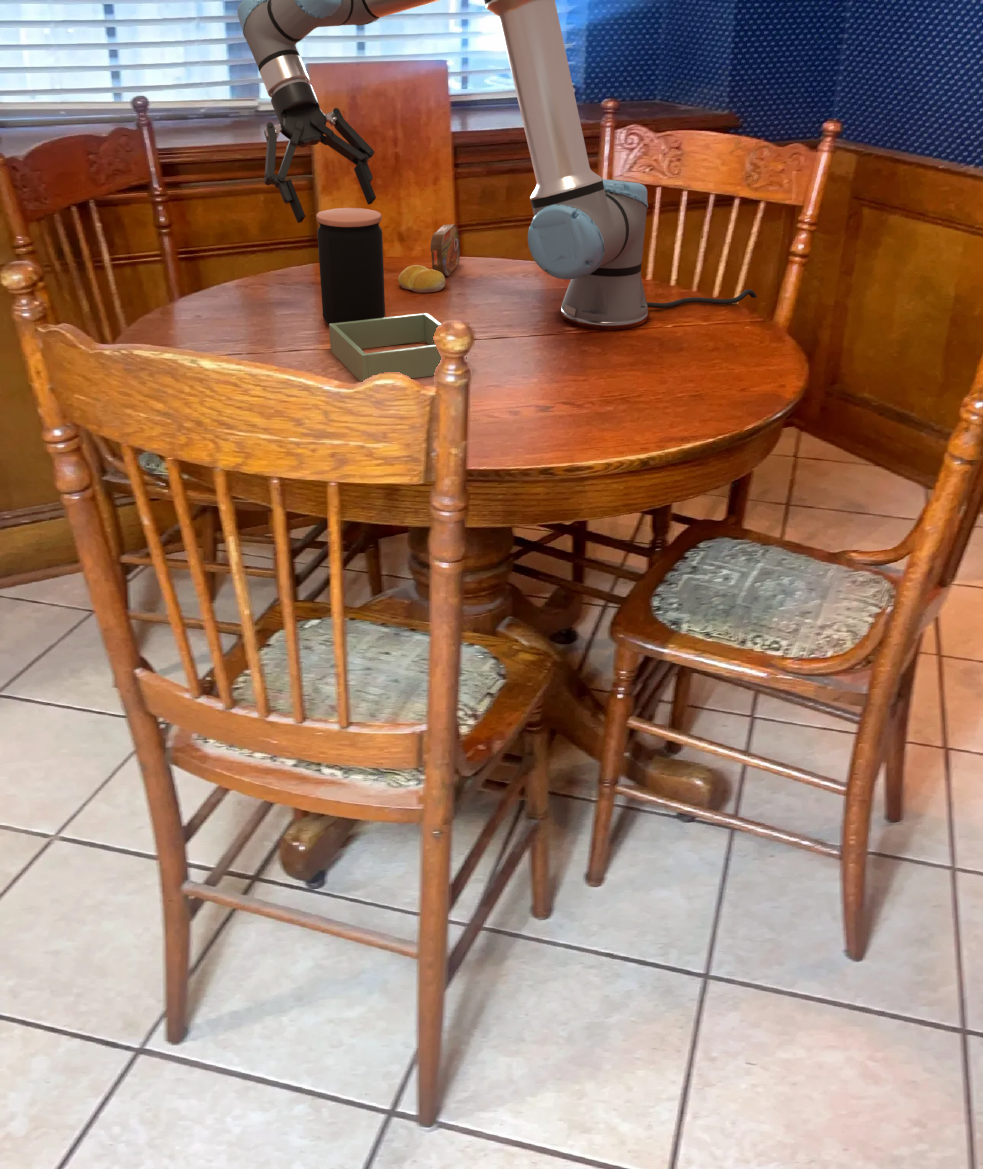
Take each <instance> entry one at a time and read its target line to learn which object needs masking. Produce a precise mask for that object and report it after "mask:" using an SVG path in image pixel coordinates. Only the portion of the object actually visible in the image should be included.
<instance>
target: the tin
mask: <svg viewBox="0 0 983 1169" xmlns="http://www.w3.org/2000/svg"><path fill="white" fill-rule="evenodd" d="M430 254H431V269H432V270H436V271H439V272H441V273H442V274H443V275H444V277H449V276H450V275H451V274H452V272H454V271H455V269H457V267H458V265H459V262H460V256H461V238H460V232H459V228H458V226H457V224H455V223H454V224H453V223H452V224H442V225H441V227H439V228H438V229H437V230H436V231H435V232H434V233H433V234H432V237H431V240H430Z"/></svg>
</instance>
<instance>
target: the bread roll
mask: <svg viewBox="0 0 983 1169" xmlns="http://www.w3.org/2000/svg"><path fill="white" fill-rule="evenodd" d="M398 283H399V285H400V287H401V288H402V289H405V290H407V291H412V292H414V293H419V294H426V293H436V292H440V291H441V290H443V289H444V288H445V286H446V276H444V275H443V274H442V273H441V272H439V271H436V270H433V269H432V268H427V267H426V266H424V265H420V264H412V265H409V266H407V267H405V268H404V269H403V270H402V271H401V272H400V274H399V275H398Z"/></svg>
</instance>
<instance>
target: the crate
mask: <svg viewBox="0 0 983 1169" xmlns="http://www.w3.org/2000/svg"><path fill="white" fill-rule="evenodd" d="M441 324H442V323H441V322H440V321H438V320H437V319H436V318H435V317H433V316H432V315H431V314H429V313H428V312H423V313H414V314H404V315H396V316H395V315H394V316H387V317H386V316H385V317H384V318H377V319H368V320H359V321H350V322H341V323H332V324H329V326H328V330H329V332H328V333H329V345H330V353H332V354H333V356H335V358H336V359H337V360H338V361H339V362H340V363H341V364H342V365H343V366H344V367H345V368H346V369H347V370H348V371H349V372H350V373H351V374H352V375H353V376H354V377H355V378H356V379H357V380H358V381H359V382H360V383H361V382H363V380H365V379H367V378H369V377H371V376H372V375H377V374H379V373H384V372H400V373H402V374H404V375H407V376H409V377H410V378H412V379H418V378H426V377H427V378H428V377H433V375H434V372H435V369H436V367H437V366H438V364H439V363H440V360H441V356H440V354H439V352H438V350H437V348H436V345H435V344H434V340H433V336H434V333H435V331H436V328H437V327H438V326H439V325H441ZM432 341H433V342H432ZM423 342H425V343H426V344H427V345H422V346H416V347H415V346H414V347H406V348H398V349H391V350H382V351H374V352H365V351H364V350H366V349H367V350H368V349H374V348H381V347H382V348H383V347H389V346H397V345H408V344H414V343H423ZM466 359H467V360H468V356H467V357H466ZM434 376H435V375H434Z"/></svg>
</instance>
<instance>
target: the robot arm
mask: <svg viewBox="0 0 983 1169" xmlns="http://www.w3.org/2000/svg"><path fill="white" fill-rule="evenodd" d="M440 1H441V0H242V1H241V2H240V3H239V5H238V7H237V18H238V20H239V23H240V26H241V30H242V35H243V37H244V39H245V40H246V43H247V45H248V48H249V50H250V52H251V55H252V56H253V60H254V61H255V64H256V66H257V69H258V72H259V75H260V78H261V80H262V82H263V85H264V87H265V89H266V93H267V95H268V96H269V98H271V99H270V103H271V106H272V109H273V110H274V113H275V116H276V118H277V120H278V122H279V123H278V124H274V123H273V122H271V121H269V122H267V123H266V125H265V127H264V130H263V134H264V137H265V140H266V150H265V163H264V165H265V166H264V167H265V168H264V180H263V182H264V184H265V185H266V186H271V185H272V186H274V187H275V188H276V189H278V191H279V193H280V196H281V198H282V201H283V203H284V204H285V205H288V204H289V205H290V207H291V210H292V212H293V215H294V217H295V219H296V222H297V224H300V223H302V222H304V220H305V218H306V214H305V211H304V209H303V207H302V204H301V202H300V198H299V196H298V194H297V191H296V189H295V187H294V184H293V181H292V179H291V178H289V179H287V175H288V172H289V169H290V166H291V163H292V161H293V157H294V156H295V152H296V148H297V147H300V148H301V149H303V148H306V147H308V146H316V145H319V143H321V144H323V145H324V146H328V147H329V148H331V149H332V150H333V151H335V152H336V153H338V154H339V155H341V156H342V157H344V158H345V159H347V160H348V161H350V162H351V163H352V164H354V165H355V167H354V168H353V170H354V173H355V176H356V178H357V181H358V183H359V185H360V188H361V191H362V194H363V196H364V198H365V202H366V204H367V205H368V206H369V205H372V204H373V203H374V201H376V199H377V196H376V193H375V191H374V189H373V185H372V181H373V180H374V176H373V174H372V171H371V169H370V166H369V162H370V160H372V157H373V155H374V154H375V151H374V149H373V148H372V147H371V146H370V144H368V143H367V141H366V140H365V139H364V138H363V137H362V136H361V135H360V134H359V133H358V132H357V131H356V130H355V129H354V128H353V126H351V125H350V124H349V123H348V121H347V120H346V119H345V118H344V116H343V114H342V111H341V110H340V108H338V107H334V108H333V109H332V110H331V111H330V112H327V113H324V112H323V111H322V109H321V107H320V103H319V101H318V98H317V96H316V93H315V90H314V88H313V85H312V84H311V83H310V77H309V74H308V73H307V70H306V67H305V65H304V63H303V59H302V57H301V55H300V52H299V50H298V49H299V48H298V47H297V44H298V43H299V42H301V41H302V40H303V39H304V38H306V36H308V35H309V34H310V33H312V32H313V31H314V30H315V29H317V28H324V27H326V28H327V27H339V26H340V27H341V26H357V27H358V26H359V27H360V26H367V25H369V24H373V23H375V22H377V21H378V20H379V19H380V18H384V17H387V16H390V15H394V14H398V13H401V12H404V11H408V10H411V9H415V8H418V7H419V8H420V7H422V6H426V5H430V4H433V3H437V2H440ZM483 1H484V5H485V9H486V10H488V11H489V12H491V13H492V14H494V16H496V17H497V18H498V20H499V23H500V29H501V33H502V37H503V38H502V39H503V41H504V47H505V50H506V54H507V60H508V64H509V68H510V72H511V77H512V81H513V86H514V90H515V95H516V98H517V104H518V108H519V111H520V117H521V120H522V126H523V130H524V134H525V138H526V143H527V147H528V152H529V156H530V160H531V164H532V169H533V174H534V177H535V182H536V184H535V188H534V190H533V191H532V193H531V195H530V197H529V199H530V203H531V204H530V205H531V208H532V212H533V217H532V220H531V223H530V226H529V227H528V232H527V244H528V249H529V252H530V255H531V257H532V259H533V261H534V262H535V264H536V265H537V266H538V267H539V268H540V269H541V270H542V271H543V272H545V273H546V274H548V275H549V276H551V277H553V278H556V279H558V280H566V281H567V280H569V284H568V286H567V289H566V291H565V294H564V297H563V300H562V301H561V308H560V316H561V318H562V319H563V320H564V321H566V322H567V323H569V324H571V325H575V326H579V327H582V328H587V329H595V330H626V329H632V328H635V327H639V326H641V325H643V324H645V323H646V322H647V321H648V316H649V315H648V314H649V308H650V309H669V308H674V307H677V306H680V305H684V304H692V303H695V304H696V303H699V304H700V303H701V304H711V305H712V304H713V305H733V304H737V303H739V302H740V301H742V300H744V299H745V298H746V297H747V296H748V295H749V296H750V298H754V299H755V298H756V299H757V298H758V296H757V294H756V292H755V291H754V290H752V289H750V288H748V289H745V290H744V291H742V292H741V293H740V294H738V295H737V296H735V297H732V298H715V297H714V298H713V297H701V296H699V297H698V296H696V297H695V296H693V297H684V298H680V299H679V298H678V299H677V300H673V301H669V302H652V301H651V302H650V301H647V298H646V293H645V288H644V284H643V280H642V263H643V254H644V243H645V234H646V223H647V212H648V208H649V204H648V189H647V187H646V186H645V185H644V184H642V183H639V182H633V181H625V180H615V179H606V178H605V179H604V178H603V177H602V176H600V175H599V174H598V173H596V172H595V171H593V170H592V169H591V167H590V162H589V158H588V154H587V153H588V152H587V148H586V147H587V146H586V142H585V138H584V133H583V129H582V124H581V119H580V114H579V109H578V104H577V100H576V95H575V90H574V85H573V80H572V76H571V71H570V65H569V62H568V56H567V52H566V47H565V42H564V37H563V31H562V28H561V23H560V17H559V13H558V9H557V4H556V0H483ZM327 123H329V125H330V126H331V127H334V129H335V130H336V132H338V134H340V136H341V137H343V138H341V137H339V135H337V134H336V133H335V132H334V131H333V129H331V128H330V127H328V126H327ZM280 134H282V135H283V136H284V137H285V138H287V139H288V144H287V146H286V149H285V153H284V155H283V159H282V162H281V164H280V167H279V170H278V173H277V174H275V172H276V170H275V169H276V158H277V142H278V139H279V136H280ZM737 483H739V481H738V482H737ZM737 483H735V484H737ZM737 485H738V484H737ZM732 487H734V484H733V483H732ZM732 490H733V489H732V488H731V491H732Z"/></svg>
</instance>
